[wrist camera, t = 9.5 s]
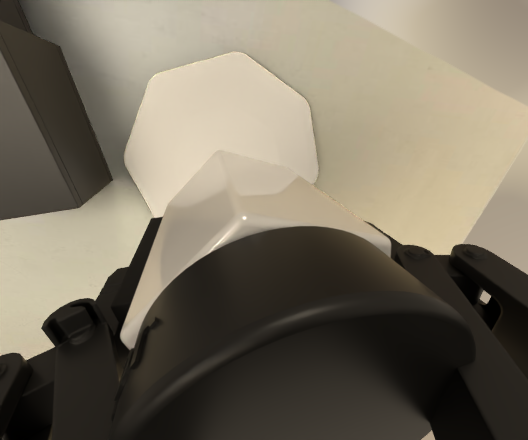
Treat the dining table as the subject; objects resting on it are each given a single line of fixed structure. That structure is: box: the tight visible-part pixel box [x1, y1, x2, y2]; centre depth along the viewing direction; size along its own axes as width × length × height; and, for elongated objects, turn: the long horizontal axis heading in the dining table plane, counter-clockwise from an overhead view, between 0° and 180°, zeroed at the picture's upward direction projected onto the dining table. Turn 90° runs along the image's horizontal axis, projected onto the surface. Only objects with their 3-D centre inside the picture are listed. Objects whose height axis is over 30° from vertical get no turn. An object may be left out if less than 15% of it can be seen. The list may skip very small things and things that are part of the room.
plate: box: [123, 51, 319, 218], centre depth 31 cm, size 24×24×2 cm
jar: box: [108, 150, 476, 440], centre depth 10 cm, size 9×8×12 cm
